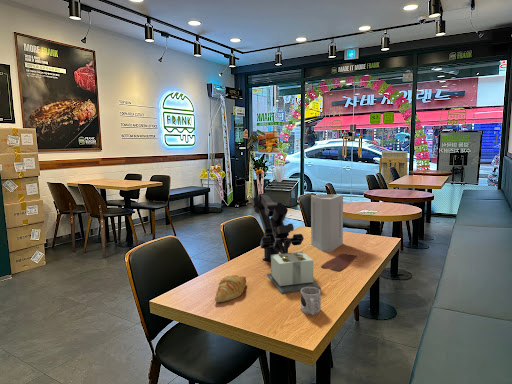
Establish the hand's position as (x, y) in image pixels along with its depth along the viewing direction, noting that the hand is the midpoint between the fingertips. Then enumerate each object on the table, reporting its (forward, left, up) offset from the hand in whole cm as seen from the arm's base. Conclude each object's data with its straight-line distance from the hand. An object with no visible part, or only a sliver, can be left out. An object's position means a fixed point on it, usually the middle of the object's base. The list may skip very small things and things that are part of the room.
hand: (286, 258), depth 146 cm
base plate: (+5, -5, -8) cm, 10 cm away
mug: (+23, -25, -8) cm, 35 cm away
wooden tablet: (+13, +29, -9) cm, 33 cm away
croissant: (-9, -27, -8) cm, 30 cm away
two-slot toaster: (+5, -4, -8) cm, 10 cm away
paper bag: (-4, +50, -8) cm, 51 cm away
